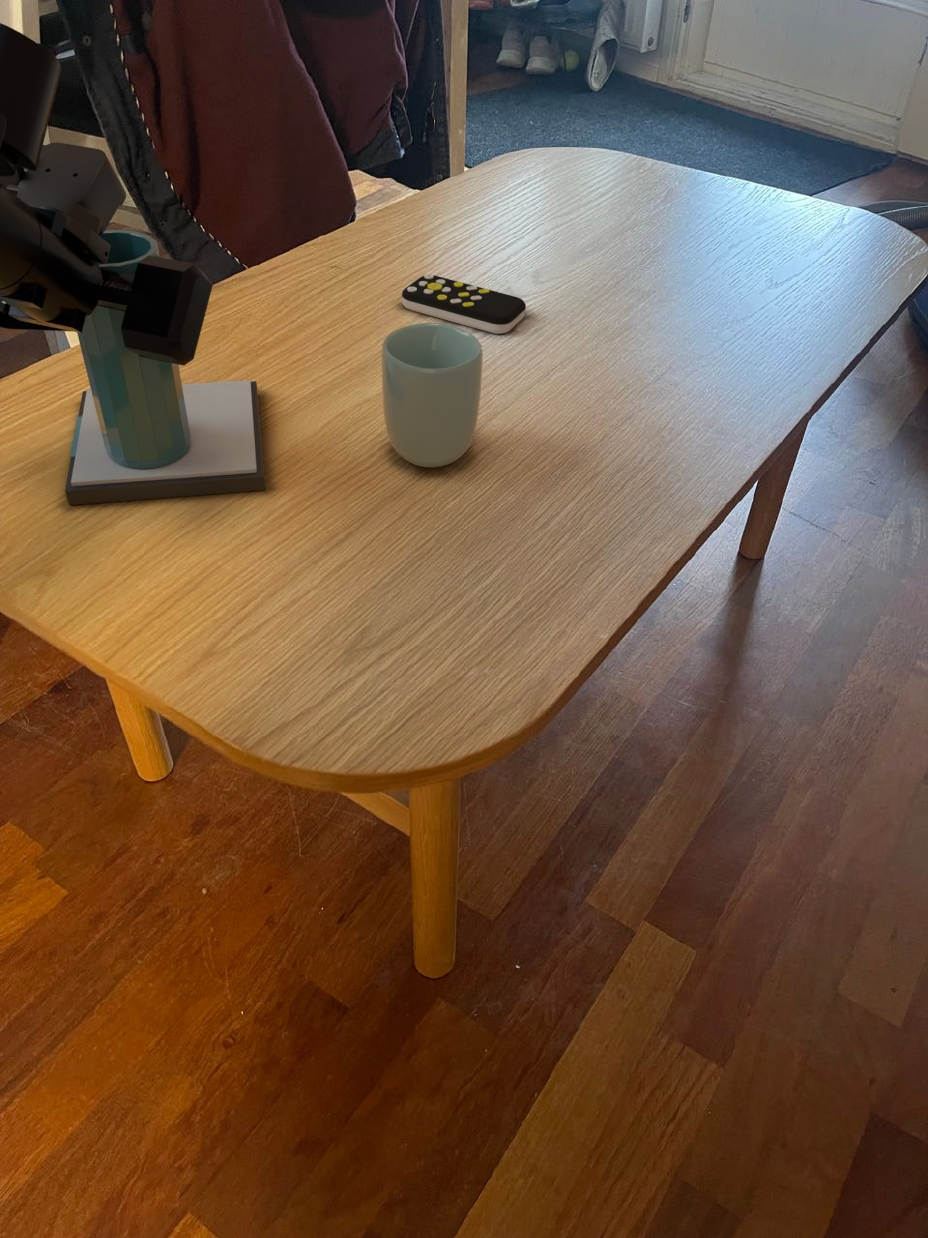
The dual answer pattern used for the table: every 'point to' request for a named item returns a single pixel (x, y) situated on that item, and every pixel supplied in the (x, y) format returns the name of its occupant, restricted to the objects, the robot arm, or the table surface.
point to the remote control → (464, 303)
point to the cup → (431, 391)
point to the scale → (211, 465)
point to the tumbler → (132, 377)
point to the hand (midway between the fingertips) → (136, 335)
